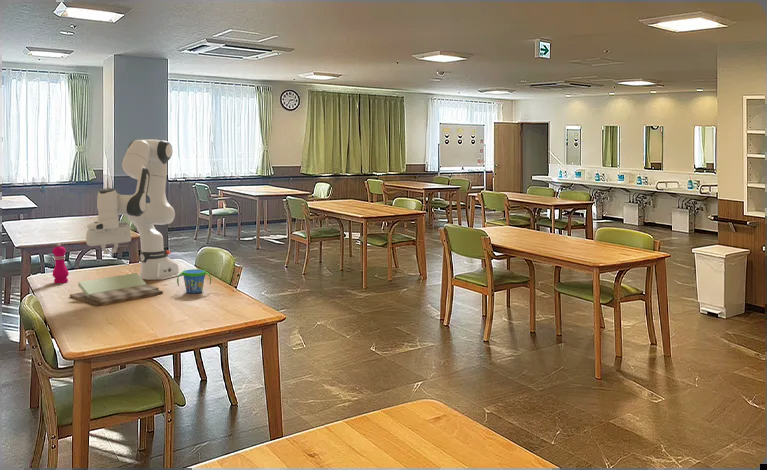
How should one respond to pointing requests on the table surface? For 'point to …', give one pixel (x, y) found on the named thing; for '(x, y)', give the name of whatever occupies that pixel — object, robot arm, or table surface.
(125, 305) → the table surface
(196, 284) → the snack cup
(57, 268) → the pepper mill
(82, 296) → the floor board
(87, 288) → the board
